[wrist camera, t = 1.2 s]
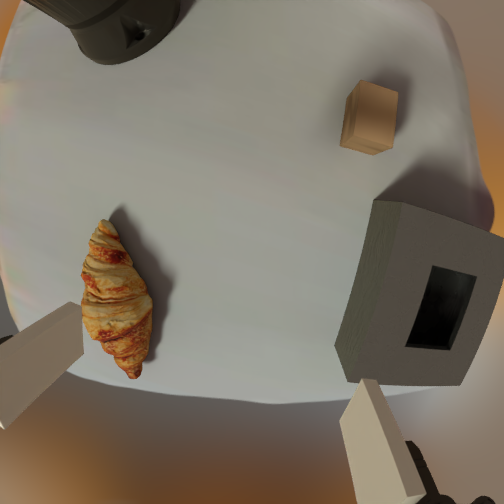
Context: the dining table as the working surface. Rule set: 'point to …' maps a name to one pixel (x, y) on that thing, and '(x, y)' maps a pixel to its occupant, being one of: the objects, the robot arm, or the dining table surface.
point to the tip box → (419, 298)
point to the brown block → (369, 118)
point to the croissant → (116, 301)
